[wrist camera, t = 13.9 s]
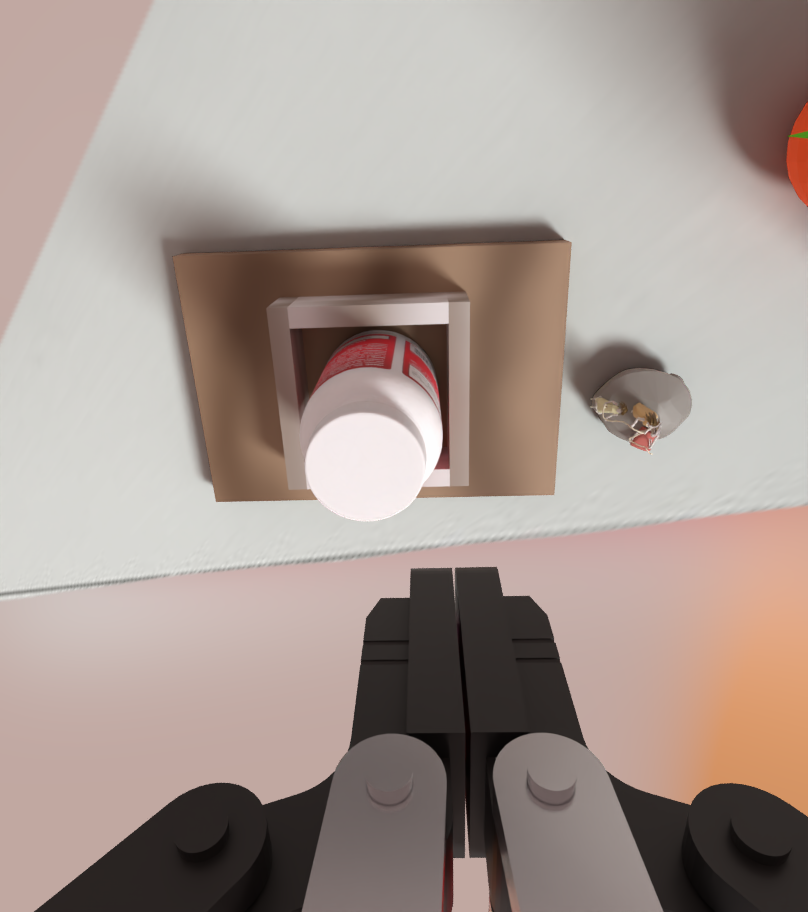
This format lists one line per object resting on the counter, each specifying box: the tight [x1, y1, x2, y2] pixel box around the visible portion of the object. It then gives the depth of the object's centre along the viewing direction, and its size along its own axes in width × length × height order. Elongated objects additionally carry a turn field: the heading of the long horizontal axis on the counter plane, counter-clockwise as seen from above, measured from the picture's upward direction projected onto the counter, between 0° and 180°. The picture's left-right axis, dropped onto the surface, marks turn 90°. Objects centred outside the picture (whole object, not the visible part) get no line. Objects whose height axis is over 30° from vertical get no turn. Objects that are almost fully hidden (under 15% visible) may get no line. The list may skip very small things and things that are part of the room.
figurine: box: [590, 368, 692, 454], centre depth 33 cm, size 5×4×6 cm
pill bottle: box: [299, 330, 443, 521], centre depth 29 cm, size 6×6×11 cm
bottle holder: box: [173, 240, 572, 502], centre depth 33 cm, size 20×14×4 cm
